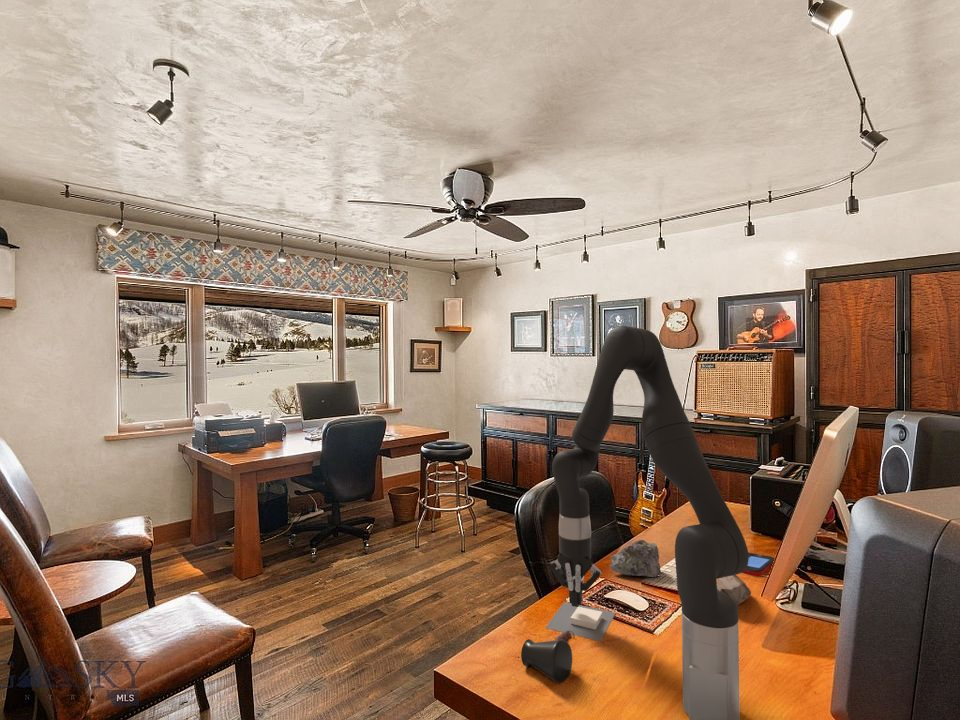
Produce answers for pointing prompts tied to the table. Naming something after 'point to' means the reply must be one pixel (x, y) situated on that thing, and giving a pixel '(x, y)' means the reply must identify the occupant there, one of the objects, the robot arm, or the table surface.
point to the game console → (758, 564)
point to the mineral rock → (637, 560)
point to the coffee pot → (549, 656)
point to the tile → (586, 618)
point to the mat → (563, 624)
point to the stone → (733, 588)
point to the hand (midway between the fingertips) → (576, 605)
